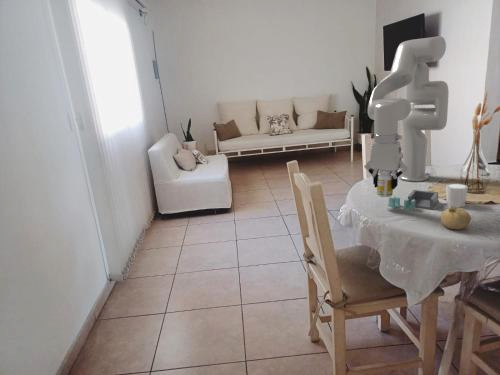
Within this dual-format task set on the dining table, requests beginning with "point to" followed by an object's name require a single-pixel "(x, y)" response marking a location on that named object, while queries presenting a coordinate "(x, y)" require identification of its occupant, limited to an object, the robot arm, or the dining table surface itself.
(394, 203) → the clip
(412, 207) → the clip
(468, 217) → the onion
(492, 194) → the dining table surface
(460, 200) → the white cup
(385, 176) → the supplement bottle
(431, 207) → the holder
